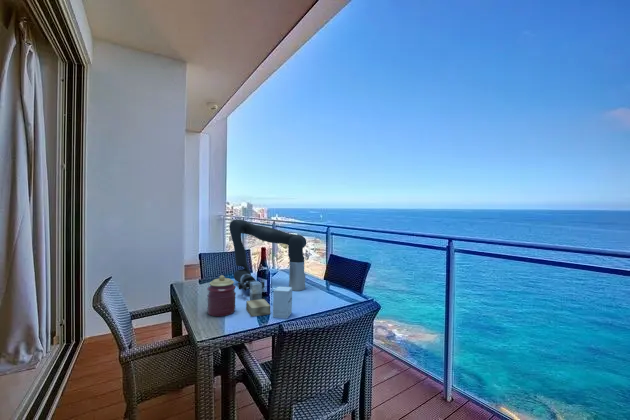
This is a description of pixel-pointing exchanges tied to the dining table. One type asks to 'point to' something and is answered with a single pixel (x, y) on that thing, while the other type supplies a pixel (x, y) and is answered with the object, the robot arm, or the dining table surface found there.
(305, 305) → the dining table surface
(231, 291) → the canister
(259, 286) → the block
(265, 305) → the stand
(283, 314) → the supplement box
